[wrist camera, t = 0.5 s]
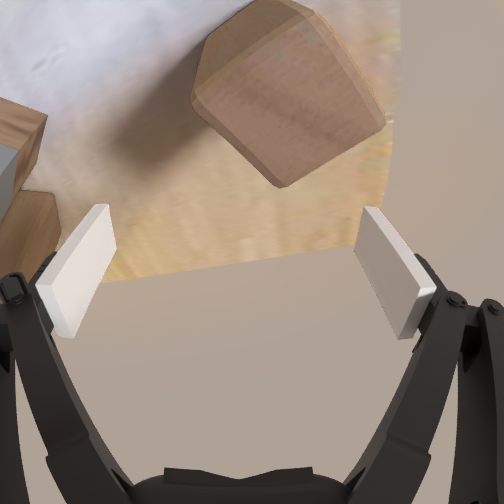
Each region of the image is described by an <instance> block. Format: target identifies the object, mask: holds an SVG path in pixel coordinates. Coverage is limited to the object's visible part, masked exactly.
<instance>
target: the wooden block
mask: <svg viewBox="0 0 504 504" xmlns="http://www.w3.org/2000/svg"><path fill="white" fill-rule="evenodd" d="M189 101H190V103H191V105H192V107H193V110H194V111H195V112H196V113H197V114H199V115H200V116H201V117H202V118H203V119H204V120H205V121H206V122H207V123H208V124H209V125H211V126H212V127H213V128H214V129H215V130H216V131H217V132H218V133H219V134H220V135H221V136H222V137H224V138H225V139H226V140H227V141H228V142H229V143H230V144H231V145H232V146H233V147H234V148H235V149H236V150H237V151H238V152H239V153H240V154H242V155H243V156H244V157H245V158H246V159H247V160H248V161H249V162H250V163H251V164H252V165H253V166H254V167H255V168H256V169H257V170H258V171H259V172H260V173H261V174H262V175H263V176H264V177H265V178H266V179H267V180H268V181H269V182H270V183H272V184H273V185H274V186H276V187H278V188H284V187H288V186H289V185H291V184H293V183H294V182H296V181H297V180H299V179H301V178H302V177H304V176H306V175H307V174H309V173H310V172H312V171H314V170H315V169H317V168H319V167H320V166H322V165H324V164H325V163H327V162H329V161H330V160H332V159H334V158H335V157H337V156H339V155H340V154H342V153H344V152H345V151H347V150H349V149H350V148H352V147H354V146H355V145H357V144H359V143H360V142H362V141H364V140H365V139H367V138H369V137H371V136H372V135H374V134H376V133H377V132H379V131H381V130H382V129H383V127H384V126H385V125H386V121H385V112H384V110H383V108H382V106H381V105H380V103H379V101H378V99H377V97H376V96H375V94H374V92H373V90H372V89H371V87H370V85H369V84H368V82H367V80H366V79H365V77H364V75H363V74H362V72H361V70H360V69H359V67H358V66H357V64H356V62H355V61H354V59H353V58H352V56H351V55H350V53H349V52H348V50H347V49H346V47H345V46H344V44H343V43H342V41H341V40H340V38H339V37H338V35H337V34H336V33H335V31H334V30H333V28H332V27H331V26H330V24H329V23H328V21H327V20H326V19H325V17H323V16H322V15H320V14H318V13H317V12H315V11H313V10H311V9H309V8H307V7H305V6H303V5H301V4H298V3H296V2H294V1H292V0H256V1H254V2H253V3H251V4H250V5H248V6H247V7H246V8H244V9H243V10H241V11H240V12H239V13H237V14H236V15H234V16H233V17H232V18H230V19H229V20H228V21H226V22H225V23H224V24H222V25H221V26H220V27H219V28H217V29H216V30H215V31H213V32H212V33H211V34H210V35H208V37H207V39H206V41H205V43H204V47H203V50H202V54H201V57H200V61H199V65H198V68H197V72H196V76H195V80H194V84H193V88H192V92H191V96H190V100H189Z"/></svg>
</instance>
